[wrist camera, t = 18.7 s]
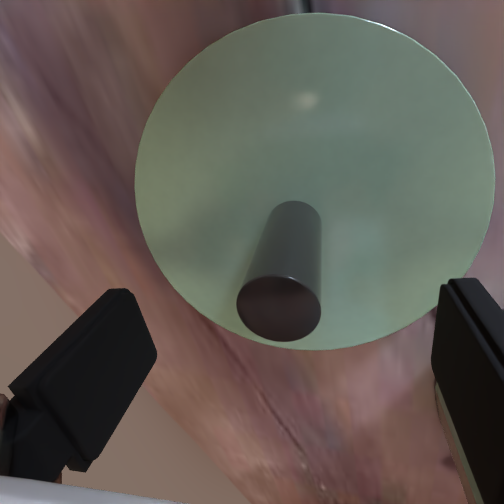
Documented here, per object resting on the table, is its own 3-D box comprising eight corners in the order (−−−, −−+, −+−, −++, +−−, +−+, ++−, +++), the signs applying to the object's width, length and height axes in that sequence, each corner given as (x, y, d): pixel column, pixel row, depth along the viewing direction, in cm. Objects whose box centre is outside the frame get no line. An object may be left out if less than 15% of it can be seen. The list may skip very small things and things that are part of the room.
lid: (117, 261, 19) (20, 349, 13) (206, -74, 11) (54, -268, 5) (343, 374, 20) (353, 506, 14) (586, 145, 12) (874, 222, 6)
